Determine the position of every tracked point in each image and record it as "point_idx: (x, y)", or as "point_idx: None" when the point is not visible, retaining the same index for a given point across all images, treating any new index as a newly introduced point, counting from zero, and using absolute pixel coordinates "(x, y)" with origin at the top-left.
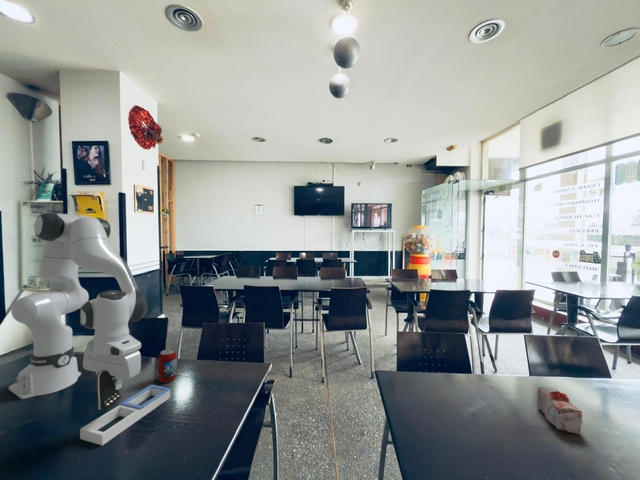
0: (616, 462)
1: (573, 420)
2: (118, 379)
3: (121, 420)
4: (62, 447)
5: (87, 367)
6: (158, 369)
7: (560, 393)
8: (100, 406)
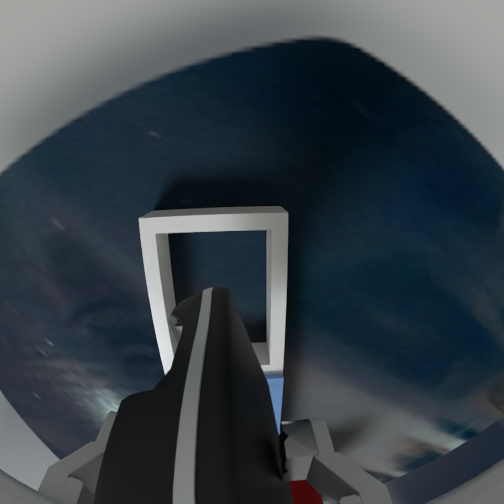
0: None
1: None
2: (50, 472)
3: (163, 310)
4: (297, 153)
5: (501, 489)
6: (312, 490)
7: None
8: (200, 299)
